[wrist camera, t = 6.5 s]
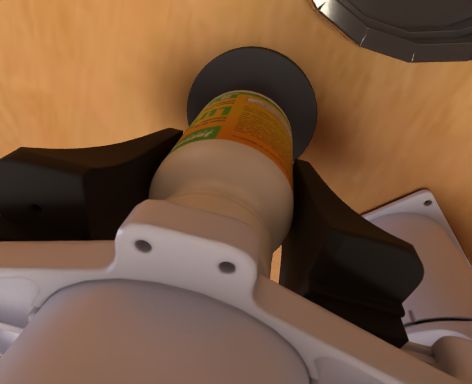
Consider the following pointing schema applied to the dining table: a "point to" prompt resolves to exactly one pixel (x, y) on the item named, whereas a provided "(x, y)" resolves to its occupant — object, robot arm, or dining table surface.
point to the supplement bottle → (235, 167)
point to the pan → (404, 27)
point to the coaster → (259, 88)
